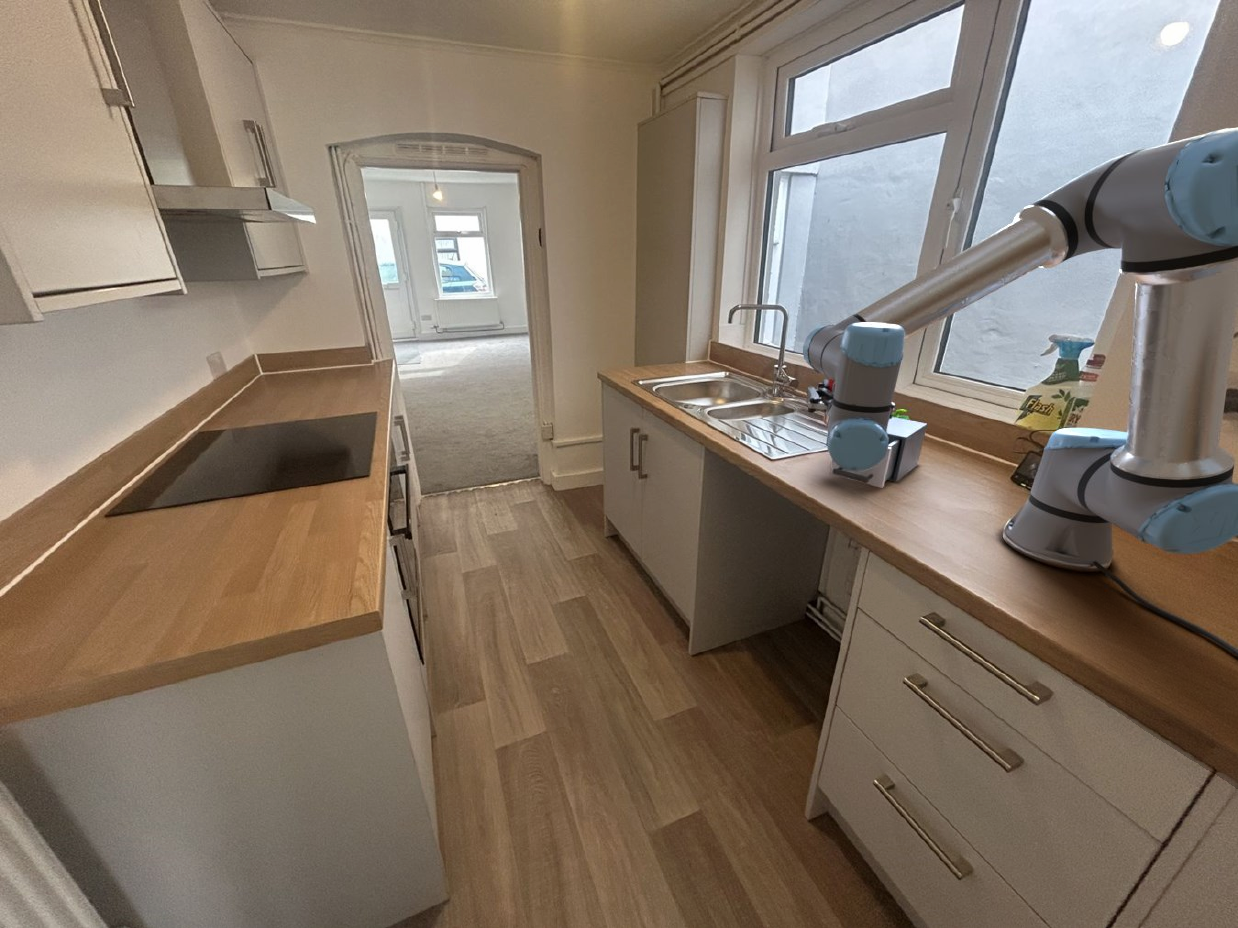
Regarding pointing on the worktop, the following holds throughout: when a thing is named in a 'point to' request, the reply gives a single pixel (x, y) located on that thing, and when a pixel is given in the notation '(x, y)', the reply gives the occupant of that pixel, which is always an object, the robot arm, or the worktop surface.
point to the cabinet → (906, 444)
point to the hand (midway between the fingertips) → (845, 387)
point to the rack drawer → (878, 472)
